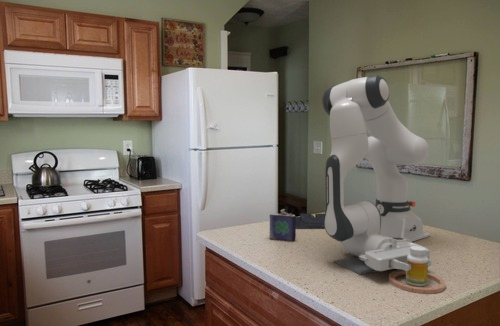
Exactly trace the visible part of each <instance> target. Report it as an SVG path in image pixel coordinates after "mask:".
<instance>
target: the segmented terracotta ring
mask: <svg viewBox="0 0 500 326" xmlns="http://www.w3.org/2000/svg"><path fill="white" fill-rule="evenodd" d="M404 275H405V276H406V271H405V270H402V269H397V270H393V271H392V272H390V273H389V274H388V282H389V283H390V284H391V285H392V286H394V287H396V288H398V289H400V290H403V291H407V292H411V293H416V294H422V295H423V294H426V295H427V294H429V295H430V294H437V293H442V292H443V291H444V290H445V289H446V287H447V284H446V282H445V280H444V279H443V278H442V277H440V276H438V275H436V274H433V273H431V272H428V273H427V279H430V280H432V279H433V281H435V282H436V283H437V284H438V286H433V287H420V286H413V285H409V284H405V283H402V282H400V281H398V280H397V279H396V277H398V276H404Z"/></svg>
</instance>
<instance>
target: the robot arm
mask: <svg viewBox="0 0 500 326" xmlns="http://www.w3.org/2000/svg"><path fill="white" fill-rule="evenodd" d="M389 98H390V89H389V85H388V82H387V80H386V79H385V78H384V77H382V76H381V75H379V74H378V75H377V74H372V75H368V76H364V77H359V78H353V79H350V80H348V81H344V82H341V83H339V84H337V85H333V86H330V87H328V88H326V89H325V90H324V92H323V94H322V98H321V102H322V107H323V110H324V111H325V113H326V114H327V115H328V116H329V129H330V130H329V132H330V139H331V152H330V155H329V157H328V158H327V160H326V162H325V170H324V174H325V175H324V178H325V180H324V181H325V184H324V185H325V188H324V189H325V210H324V214H325V217H324V227H325V229H324V230H325V232H326V234H327V235H328V236H329V237H330V238H332V239H334V240H335V241H337V242H339V243H340V245H341V246H342V247H343V249H344V250H345V251H347V252H348V253H349V254H351V255H353V256H354V257H359V259H360V260H363V261H365V264H366V265H367V266H369V267H370V268H372V269H374V270H376V271H377V272H384V271H387V270H389V271H390V270H394V269H397V270H405V271H409V270H411V267H412V265H411V264H409V263H407V256H408V255H409V254H411V253H410V247H411V246H419V247H423V248H425V249H426V254H425V256H426V257H427V258H428V267H431V266H432V260H431V259H430V256H431V255H430V250H429V248H428V247H426V246H423V245H420V244H418V243H414V242H415V241H419V240H421V239H424V238H428V237H430V236H431V235H430V233H429V232H428V231H426V230H424V222H423V220H422V219H421V218H420V216H418V215H417V214H415V213H414V211H412V209H411V207H413V208H414V207H416V202H415V201H412V200H408V194H409V182H408V179H407V178H406V176H405V175H403V174H401V173H400V171H399V170H398V166H397V165H400V166H401V165H402V166H416V165H421V164H423V163H424V162H425V161H426V160H427V158H428V156H429V153H430V152H429V151H430V149H429V144H428V142H427V141H426V139H425V138H423V137H420V136H418V135H417V134H415V133H413V132H412V131H410V130H409V129H408V128H407V127H406V126H404V124H403V123H402V122H401V121H400V120H399V119H398V117H397V115H396V113H395V112H394V109H393V107H392V104H391V103H390V101H389ZM368 134H369V135H370V136H368ZM364 159H366V160H367V161H368V162H369V164H370V165H371V166H372V168H373V171H374V174H375V177H376V199H375V204H374V202H372V201H370V200H363V201H360V202H359V201H358V202H355V203H352V204H349V205H348V204H347V205H345V196H344V194H345V193H344V192H345V190H344V183H345V179H346V176H347V174H348V173H349V172H350V171H351V170H352V169H353V168H355V167H356V166H357V165H359V164H360V163H361V162H362V161H363V160H364Z"/></svg>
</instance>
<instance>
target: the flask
mask: <svg viewBox="0 0 500 326" xmlns="http://www.w3.org/2000/svg"><path fill="white" fill-rule="evenodd" d="M285 210H286V209H285V208H282V209H281V210H279V211H280V213H270V214H269V240H271V241H279V240H280V242H282V241H283V242H291V243H293V242H294V241H295V242H296V237H297V236H296V234H297V233H296V230H297V229H296V217H297V216H296V215H295V214H292V213H288V212H286V211H285Z"/></svg>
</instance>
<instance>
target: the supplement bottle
mask: <svg viewBox="0 0 500 326" xmlns="http://www.w3.org/2000/svg"><path fill="white" fill-rule="evenodd" d="M423 247H424V246H423ZM423 247H419V246H411V247H410V253H411V254H409V255H408V256H407V263H409V264H411V265H412V267H411V270H409V271H406V275H405V282H406V283H408V285H410V286H413V287H424V286H427V284H428V278H427V273H429V272H428V267H429V266H428V258H427V257H426V256H425V254H426V249H425V248H423Z"/></svg>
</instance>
